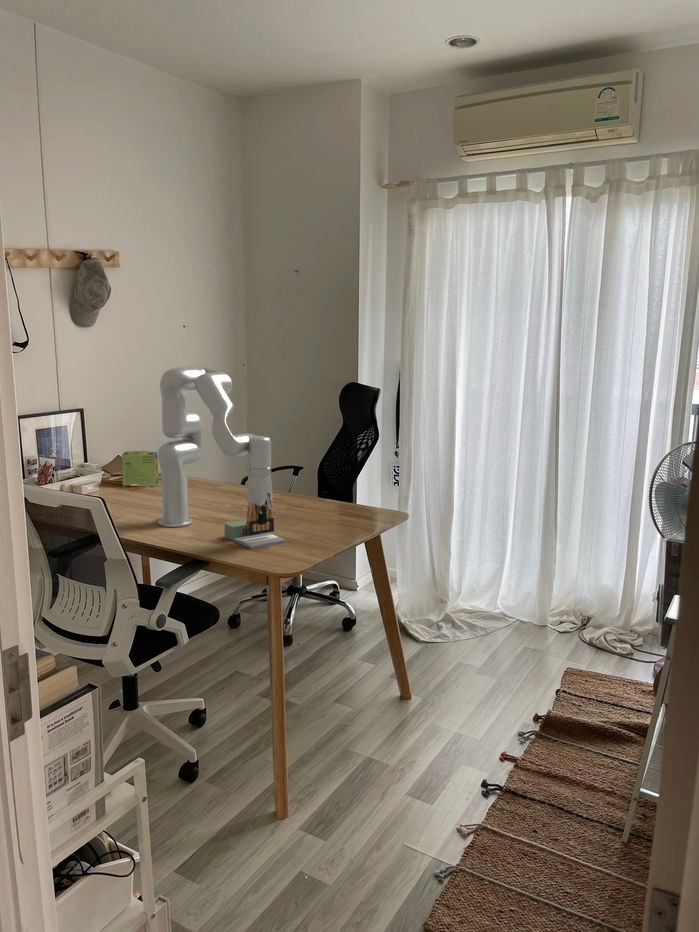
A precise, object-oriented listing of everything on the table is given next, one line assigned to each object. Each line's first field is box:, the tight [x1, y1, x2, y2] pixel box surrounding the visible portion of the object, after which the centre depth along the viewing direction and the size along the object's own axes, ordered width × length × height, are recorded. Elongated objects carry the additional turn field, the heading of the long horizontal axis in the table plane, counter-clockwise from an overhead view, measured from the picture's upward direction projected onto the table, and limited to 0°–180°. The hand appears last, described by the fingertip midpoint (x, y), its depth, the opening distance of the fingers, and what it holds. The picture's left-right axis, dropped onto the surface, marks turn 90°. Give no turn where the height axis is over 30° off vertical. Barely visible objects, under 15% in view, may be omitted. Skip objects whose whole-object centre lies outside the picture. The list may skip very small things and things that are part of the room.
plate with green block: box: [224, 519, 286, 550], centre depth 262 cm, size 18×14×5 cm
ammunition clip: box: [246, 502, 275, 536], centre depth 258 cm, size 11×2×12 cm, turn 129°
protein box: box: [121, 450, 160, 487], centre depth 346 cm, size 10×15×16 cm
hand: (260, 522), depth 259 cm, fingers closed on ammunition clip, 2 cm apart
